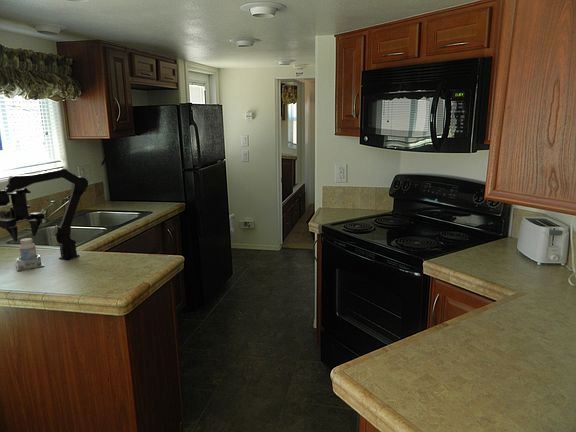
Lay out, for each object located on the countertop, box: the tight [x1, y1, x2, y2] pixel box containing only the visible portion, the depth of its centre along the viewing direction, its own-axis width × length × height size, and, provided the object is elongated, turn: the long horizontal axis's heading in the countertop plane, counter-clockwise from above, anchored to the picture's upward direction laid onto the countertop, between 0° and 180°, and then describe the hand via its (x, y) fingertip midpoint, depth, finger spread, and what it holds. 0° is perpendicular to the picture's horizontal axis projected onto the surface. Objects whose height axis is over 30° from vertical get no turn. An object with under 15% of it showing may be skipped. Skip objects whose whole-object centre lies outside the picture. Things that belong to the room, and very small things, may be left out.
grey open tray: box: [15, 253, 45, 272], centre depth 191 cm, size 14×10×4 cm
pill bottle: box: [18, 237, 37, 260], centre depth 190 cm, size 6×6×11 cm
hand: (25, 238), depth 189 cm, fingers open, 9 cm apart
